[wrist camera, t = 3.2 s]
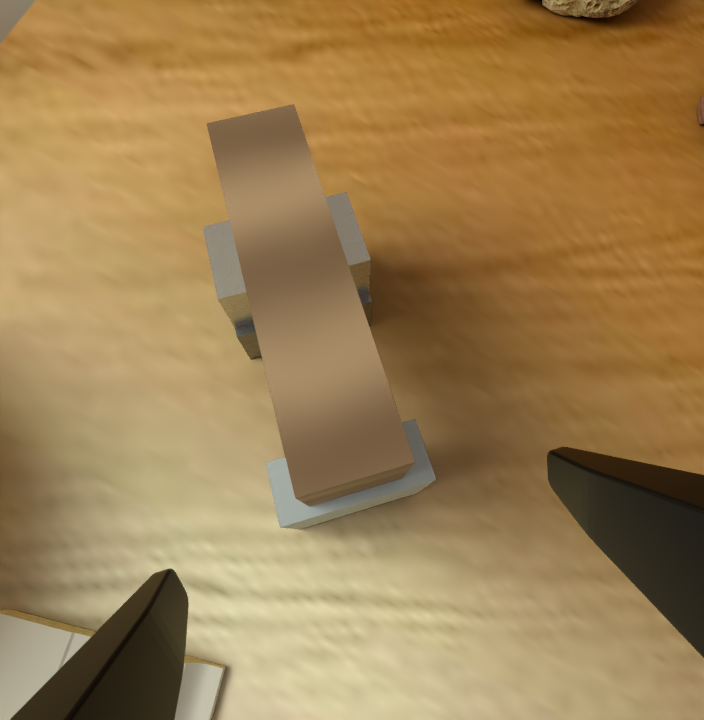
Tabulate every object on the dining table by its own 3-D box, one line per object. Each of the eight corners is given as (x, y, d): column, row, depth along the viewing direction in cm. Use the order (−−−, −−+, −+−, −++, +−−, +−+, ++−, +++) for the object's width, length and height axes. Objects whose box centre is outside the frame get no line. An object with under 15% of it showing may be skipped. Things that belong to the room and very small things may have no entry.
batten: (402, 478, 17) (415, 462, 13) (309, 506, 17) (295, 498, 13) (304, 176, 22) (293, 104, 18) (232, 193, 22) (206, 123, 18)
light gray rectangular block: (416, 493, 22) (436, 479, 17) (300, 529, 22) (280, 527, 16) (401, 446, 23) (415, 418, 18) (288, 480, 23) (265, 462, 17)
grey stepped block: (370, 326, 26) (374, 268, 20) (250, 359, 25) (219, 308, 20) (346, 255, 28) (343, 184, 22) (233, 284, 27) (201, 218, 21)
